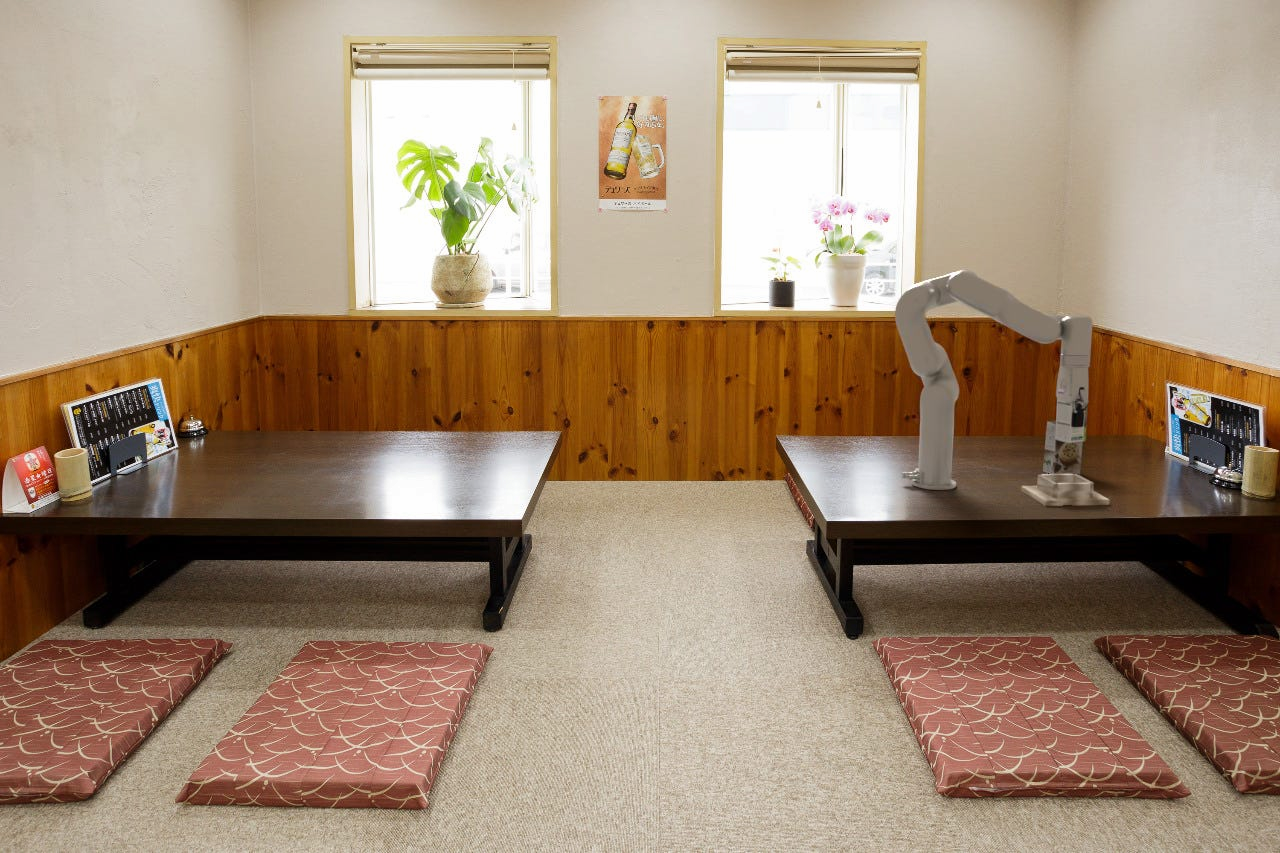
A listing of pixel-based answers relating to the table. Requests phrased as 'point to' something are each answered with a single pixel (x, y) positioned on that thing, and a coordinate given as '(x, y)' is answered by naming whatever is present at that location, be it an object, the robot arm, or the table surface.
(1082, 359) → the robot arm
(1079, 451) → the coffee box
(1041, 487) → the holder
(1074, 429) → the syrup box
